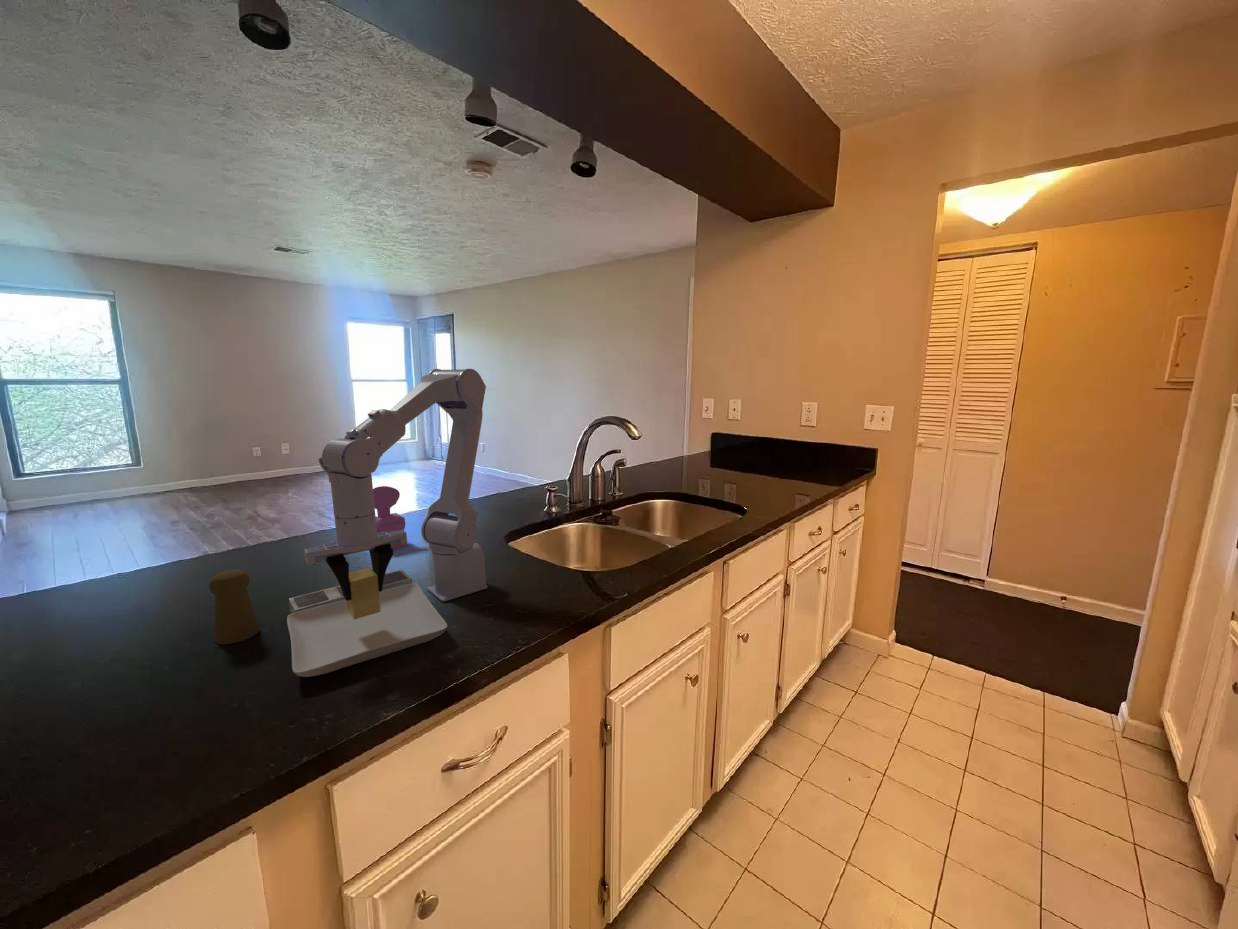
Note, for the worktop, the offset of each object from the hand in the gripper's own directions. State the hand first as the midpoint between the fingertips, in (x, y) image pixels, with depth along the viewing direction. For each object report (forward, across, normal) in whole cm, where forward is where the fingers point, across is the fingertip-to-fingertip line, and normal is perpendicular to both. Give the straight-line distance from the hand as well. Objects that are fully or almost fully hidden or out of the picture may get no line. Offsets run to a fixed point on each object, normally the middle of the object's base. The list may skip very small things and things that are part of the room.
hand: (363, 594), depth 79 cm
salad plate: (+8, 0, 0) cm, 8 cm away
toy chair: (+8, -17, -44) cm, 48 cm away
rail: (+7, -2, -16) cm, 18 cm away
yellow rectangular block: (+3, 0, -1) cm, 3 cm away
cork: (+8, +16, -15) cm, 23 cm away
